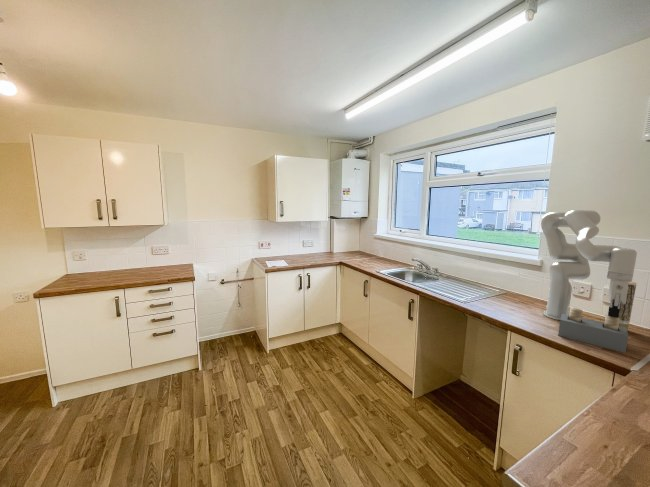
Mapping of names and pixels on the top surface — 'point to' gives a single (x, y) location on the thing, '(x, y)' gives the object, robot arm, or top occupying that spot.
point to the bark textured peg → (627, 306)
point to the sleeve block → (593, 333)
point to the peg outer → (611, 322)
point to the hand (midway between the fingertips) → (613, 316)
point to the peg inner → (575, 314)
